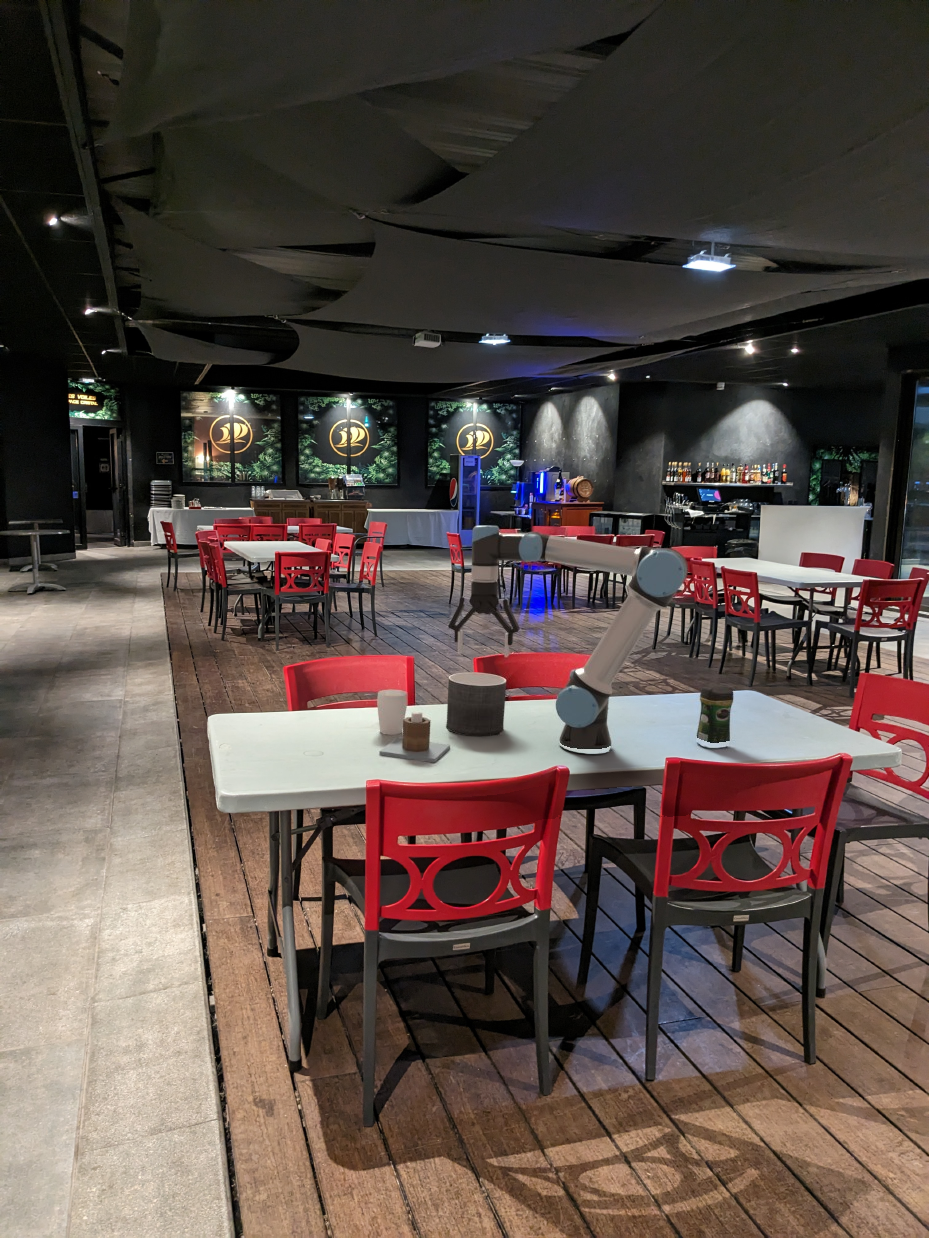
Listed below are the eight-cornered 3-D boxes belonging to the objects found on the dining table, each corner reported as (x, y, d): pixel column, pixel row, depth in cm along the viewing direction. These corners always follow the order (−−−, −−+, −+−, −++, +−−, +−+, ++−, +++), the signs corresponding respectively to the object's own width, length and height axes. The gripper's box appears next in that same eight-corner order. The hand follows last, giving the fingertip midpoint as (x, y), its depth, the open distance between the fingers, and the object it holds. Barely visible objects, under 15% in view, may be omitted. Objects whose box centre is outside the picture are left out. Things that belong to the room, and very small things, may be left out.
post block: (450, 748, 243) (451, 710, 241) (434, 762, 230) (436, 722, 228) (397, 740, 247) (398, 704, 246) (379, 754, 234) (380, 715, 232)
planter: (437, 731, 260) (439, 680, 257) (459, 717, 276) (461, 670, 274) (491, 740, 253) (494, 688, 251) (511, 725, 270) (514, 677, 267)
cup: (401, 737, 251) (403, 697, 249) (372, 734, 253) (373, 694, 251) (409, 729, 260) (411, 690, 258) (381, 726, 262) (382, 688, 260)
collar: (431, 745, 241) (432, 718, 240) (423, 752, 234) (424, 724, 233) (408, 742, 243) (409, 715, 242) (399, 749, 236) (400, 721, 235)
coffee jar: (717, 740, 264) (723, 682, 262) (733, 748, 257) (739, 688, 254) (690, 742, 261) (696, 683, 258) (706, 750, 254) (712, 689, 251)
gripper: (530, 581, 241) (528, 655, 244) (445, 577, 246) (444, 650, 249) (526, 583, 233) (524, 659, 236) (438, 580, 239) (437, 654, 242)
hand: (483, 655), depth 243 cm, fingers open, 13 cm apart
